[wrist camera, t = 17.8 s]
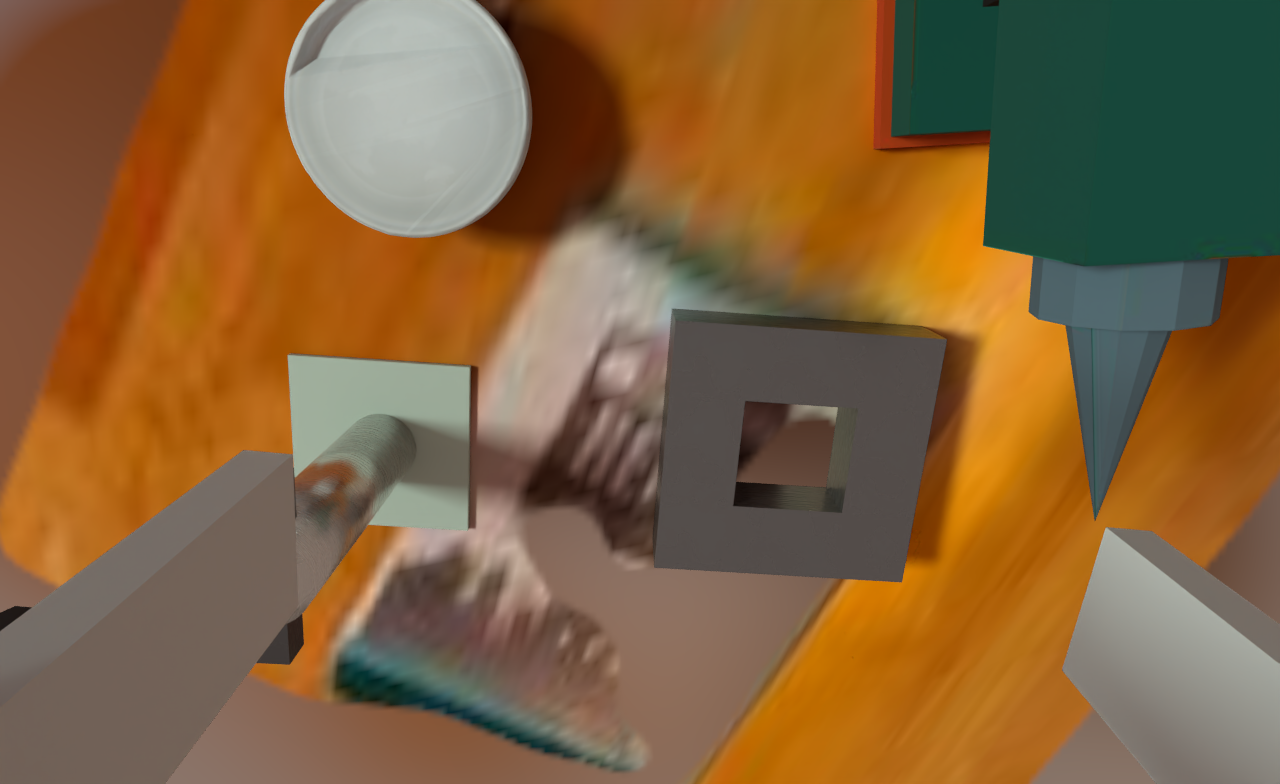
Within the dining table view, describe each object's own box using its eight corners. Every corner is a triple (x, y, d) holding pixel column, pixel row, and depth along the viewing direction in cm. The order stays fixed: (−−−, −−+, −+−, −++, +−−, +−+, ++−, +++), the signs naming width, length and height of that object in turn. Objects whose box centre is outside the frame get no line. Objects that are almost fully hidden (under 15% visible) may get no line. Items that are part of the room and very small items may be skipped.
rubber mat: (291, 353, 43) (287, 355, 42) (471, 365, 43) (469, 367, 42) (299, 517, 45) (296, 520, 45) (468, 527, 46) (467, 530, 45)
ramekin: (437, -53, 37) (407, -89, 32) (588, 132, 40) (582, 126, 35) (280, 104, 39) (228, 93, 34) (433, 271, 42) (406, 285, 36)
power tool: (989, 389, 44) (1272, 559, 24) (867, 396, 44) (1052, 571, 24) (1038, -281, 35) (1538, -840, 16) (884, -272, 35) (1195, -817, 16)
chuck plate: (672, 308, 42) (675, 320, 39) (922, 326, 43) (947, 339, 39) (652, 538, 46) (654, 567, 43) (882, 552, 46) (901, 582, 43)
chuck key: (348, 509, 45) (215, 668, 30) (343, 377, 43) (198, 482, 28) (416, 513, 45) (317, 673, 30) (415, 382, 43) (308, 488, 28)
